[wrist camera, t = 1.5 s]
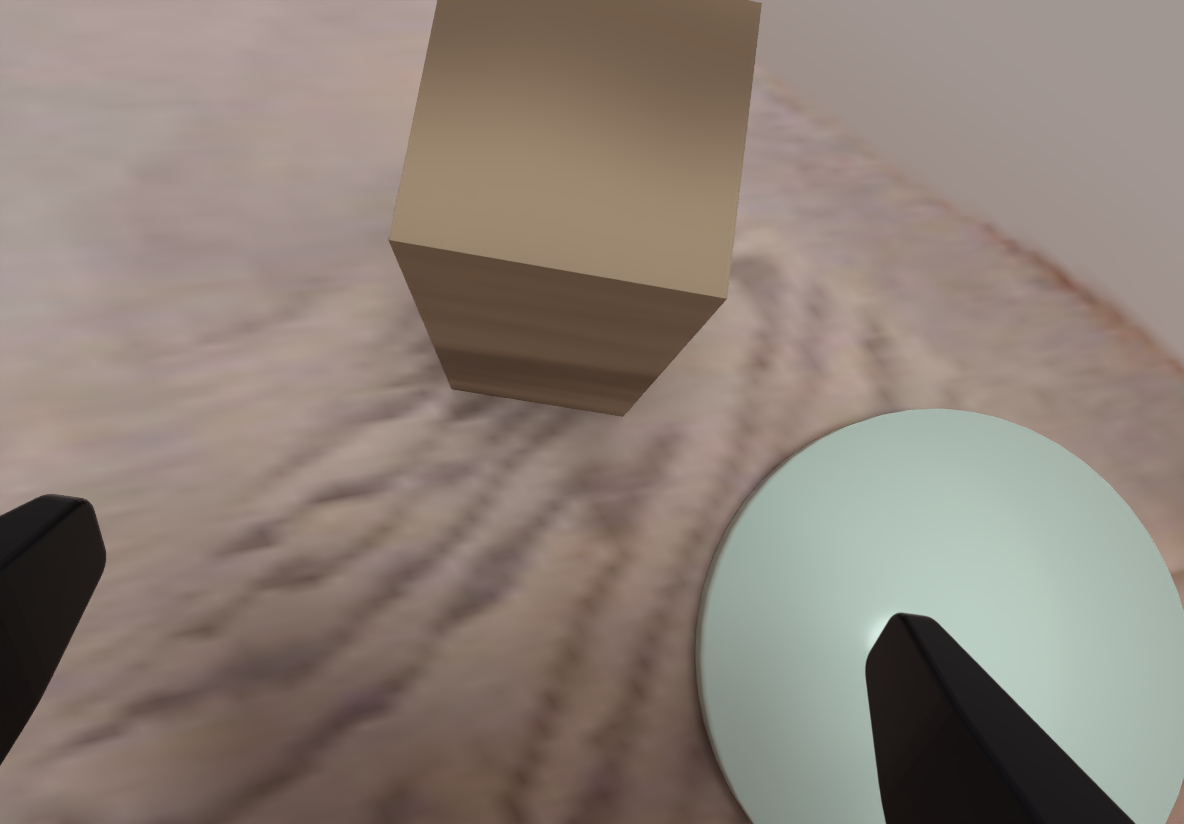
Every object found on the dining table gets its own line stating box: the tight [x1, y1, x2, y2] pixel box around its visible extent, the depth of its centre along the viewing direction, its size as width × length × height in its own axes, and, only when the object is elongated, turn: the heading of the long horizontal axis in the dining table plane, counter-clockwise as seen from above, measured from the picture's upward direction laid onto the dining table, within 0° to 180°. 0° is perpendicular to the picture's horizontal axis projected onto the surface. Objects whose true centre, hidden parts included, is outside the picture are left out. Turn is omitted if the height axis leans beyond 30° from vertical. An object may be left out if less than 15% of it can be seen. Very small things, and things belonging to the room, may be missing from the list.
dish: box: [695, 409, 1184, 824], centre depth 21 cm, size 14×14×1 cm
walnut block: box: [389, 0, 762, 416], centre depth 17 cm, size 5×5×11 cm
